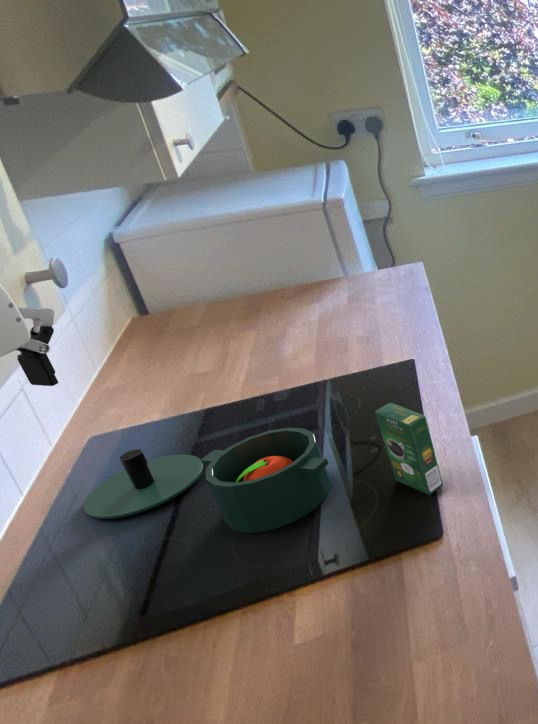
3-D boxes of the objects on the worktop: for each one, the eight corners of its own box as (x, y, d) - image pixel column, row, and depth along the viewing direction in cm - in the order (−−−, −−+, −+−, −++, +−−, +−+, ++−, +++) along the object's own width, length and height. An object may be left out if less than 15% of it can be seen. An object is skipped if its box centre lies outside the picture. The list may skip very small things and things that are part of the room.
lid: (143, 526, 105) (125, 489, 103) (60, 518, 107) (39, 482, 105) (227, 462, 118) (212, 429, 115) (151, 456, 120) (135, 423, 117)
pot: (302, 538, 102) (283, 490, 99) (186, 527, 105) (164, 480, 101) (366, 476, 114) (351, 431, 111) (260, 467, 117) (243, 424, 113)
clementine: (251, 526, 104) (234, 486, 101) (236, 505, 108) (220, 466, 105) (313, 496, 109) (299, 457, 107) (297, 476, 114) (283, 439, 111)
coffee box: (446, 485, 112) (426, 413, 106) (430, 497, 109) (408, 424, 104) (411, 470, 115) (390, 400, 110) (395, 481, 113) (372, 410, 107)
